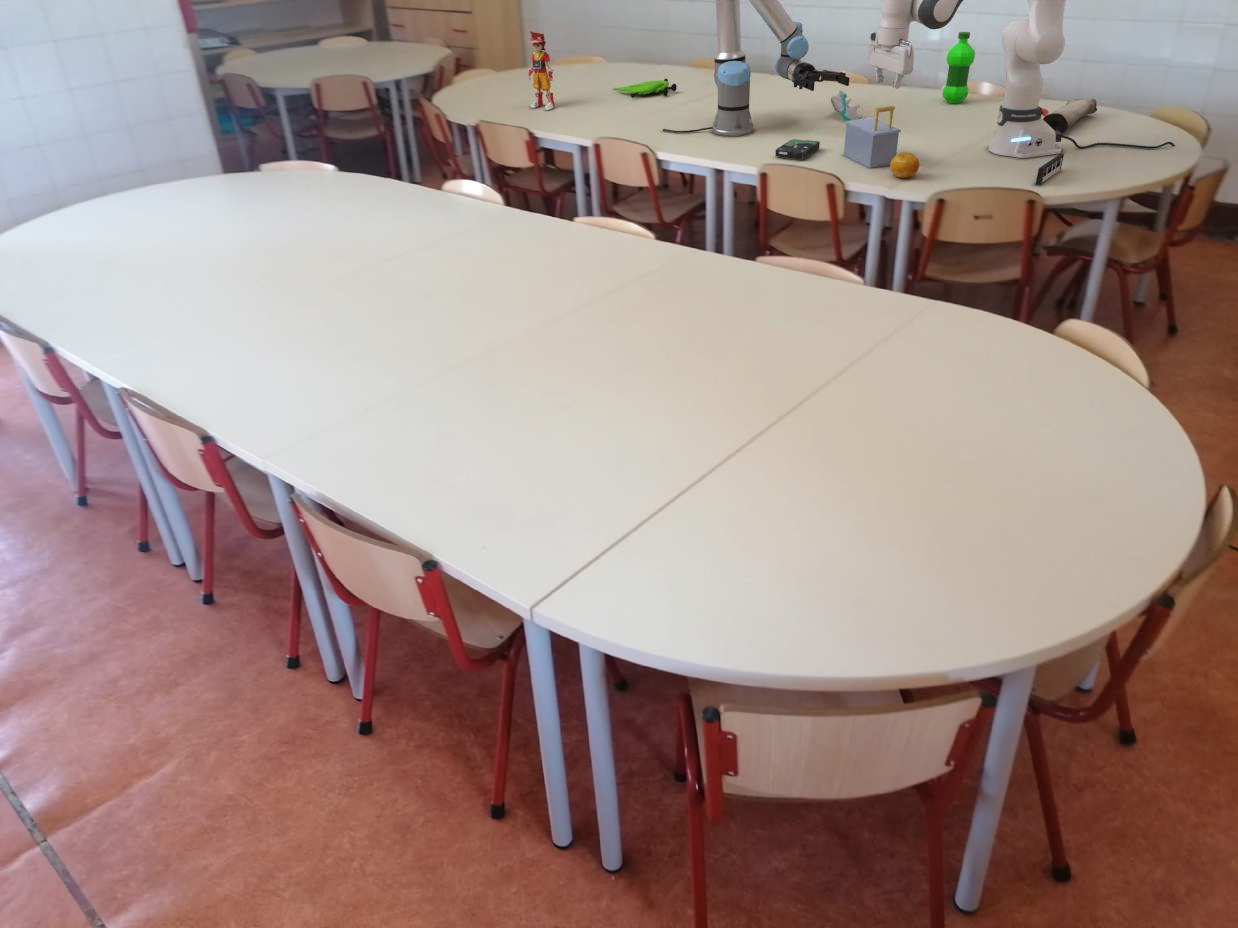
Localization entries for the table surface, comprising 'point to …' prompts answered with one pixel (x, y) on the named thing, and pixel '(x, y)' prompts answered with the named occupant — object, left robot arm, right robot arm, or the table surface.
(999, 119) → the right robot arm
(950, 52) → the plastic bottle
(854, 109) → the anatomical model
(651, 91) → the toy
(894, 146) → the chest
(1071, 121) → the rolled mat
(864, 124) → the lid
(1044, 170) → the midi keyboard
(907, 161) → the fruit
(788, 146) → the disk drive
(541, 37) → the toy
